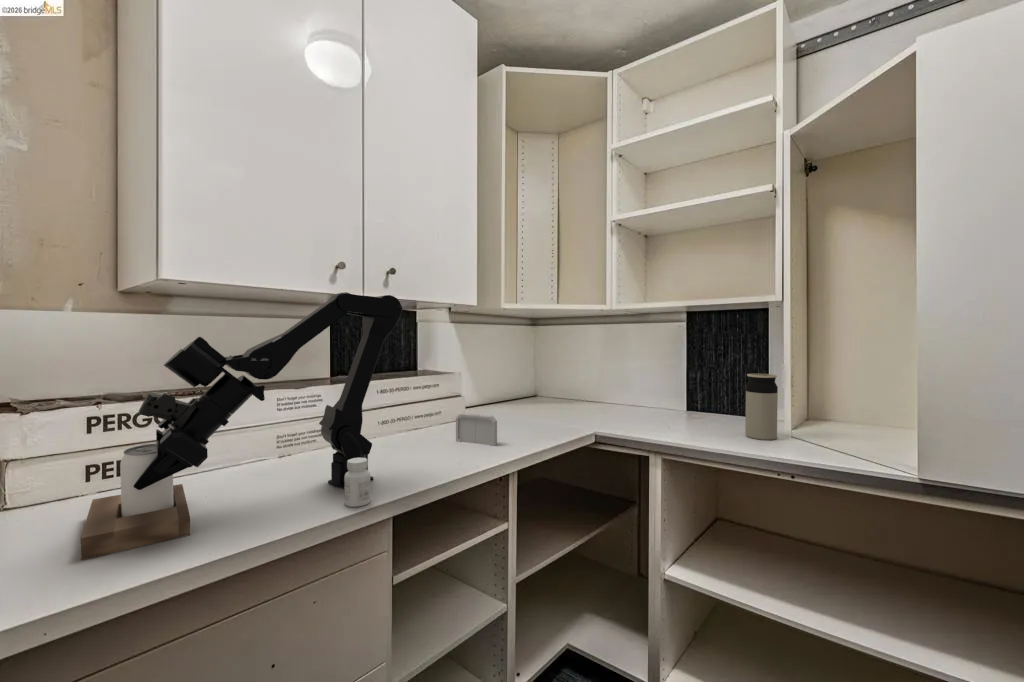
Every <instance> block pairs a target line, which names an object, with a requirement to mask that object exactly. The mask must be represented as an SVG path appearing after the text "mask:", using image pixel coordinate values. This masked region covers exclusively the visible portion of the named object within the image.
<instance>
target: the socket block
mask: <svg viewBox="0 0 1024 682" xmlns="http://www.w3.org/2000/svg"><path fill="white" fill-rule="evenodd" d="M173 501H174V507H173V508H168V509H163V510H158V511H153V512H147V513H142V514H137V515H132V516H127V517H122V506H121V494H117V495H111V496H104V497H100V498H93V499H92V500H91V504H90V507H89V510H88V513H87V516H86V520H85V523H84V527H83V529H82V532H81V535H80V561H85V560H89V559H93V558H97V557H102V556H105V555H110V554H113V553H119V552H122V551H128V550H132V549H136V548H139V547H145V546H149V545H153V544H158V543H161V542H165V541H169V540H170V541H171V540H174V538H175V539H178V537H179V538H182V537H181V536H184V537H186V536H185V535H188V536H190V535H191V516H190V515H191V514H190V511H189V506H188V503H187V498H186V494H185V490H184V486H183V483H180V484H173Z"/></svg>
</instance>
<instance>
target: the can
mask: <svg viewBox="0 0 1024 682" xmlns="http://www.w3.org/2000/svg"><path fill="white" fill-rule="evenodd" d="M156 455H157V443H156V442H155V443H145V444H140V445H135V446H132V447H129V448H126V449H125V450H124V451H123V457H122V458H121V460H120V463H119V464H120V465H119V467H120V469H119V470H120V495H121V506H122V517H127V516H132V515H137V514H142V513H147V512H153V511H158V510H163V509H168V508H173V507H174V501H173V485H174V474H173V475H171V476H168V477H166V478H164V479H162V480H160V481H158V482H156V483H154V484H152V485H150V486H148V487H145V488H143V489H141V490H138V489H136V488H134V484H135V483H136V481H137V480H138V479H139V477H140V476H141V475H142V473H143V472H144V471H145V470H146V468H147V467H148V466H149V464H150V463H151V462H152V461H153V459H154V458H155V457H156Z"/></svg>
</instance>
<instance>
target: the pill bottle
mask: <svg viewBox="0 0 1024 682" xmlns="http://www.w3.org/2000/svg"><path fill="white" fill-rule="evenodd" d="M367 466H368V467H369V460H368V461H367V459H366V458H352V459H349V460H348V461H347V469H348V470H349V471H348V472H347V473H346V474H345V488H344V504H345V505H346V506H347V507H350V508H357V507H362V506H363V507H364V506H366V505H368V504H369V503H370V502H371V497H372V496H371V481H370V476H371V471H369V469H368V470H366V468H367Z"/></svg>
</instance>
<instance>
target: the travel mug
mask: <svg viewBox="0 0 1024 682" xmlns="http://www.w3.org/2000/svg"><path fill="white" fill-rule="evenodd" d="M746 376H747V377H748V381H747V383H746V384H745V433H744V434H745V436H746V437H747V438H750V439H754V440H761V441H773V440H776V439H777V438H778V402H779V401H778V396H779V395H778V385H777V383H776V378H777V377H778V375H776V374H772V373H771V374H769V373H747V374H746Z"/></svg>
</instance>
